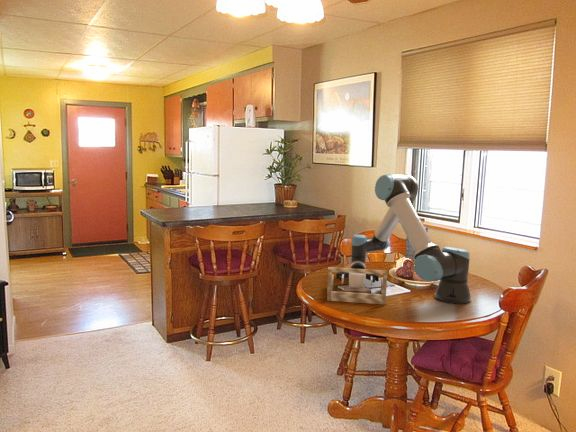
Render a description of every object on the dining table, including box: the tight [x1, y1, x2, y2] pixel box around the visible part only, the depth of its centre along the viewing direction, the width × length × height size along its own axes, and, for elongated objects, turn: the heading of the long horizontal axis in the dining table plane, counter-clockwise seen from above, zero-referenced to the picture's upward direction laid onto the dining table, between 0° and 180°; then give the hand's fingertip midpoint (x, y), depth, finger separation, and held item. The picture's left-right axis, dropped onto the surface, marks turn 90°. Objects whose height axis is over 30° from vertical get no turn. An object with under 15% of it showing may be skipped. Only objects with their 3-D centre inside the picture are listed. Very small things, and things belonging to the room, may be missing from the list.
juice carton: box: [404, 226, 429, 260], centre depth 259 cm, size 12×8×24 cm, turn 146°
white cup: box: [348, 273, 366, 288], centre depth 219 cm, size 8×8×10 cm
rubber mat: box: [365, 276, 395, 289], centre depth 237 cm, size 15×15×1 cm
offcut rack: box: [326, 266, 388, 305], centre depth 216 cm, size 25×21×15 cm
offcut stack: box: [339, 286, 372, 294], centre depth 212 cm, size 14×6×5 cm, turn 89°
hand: (356, 281), depth 217 cm, fingers open, 12 cm apart
